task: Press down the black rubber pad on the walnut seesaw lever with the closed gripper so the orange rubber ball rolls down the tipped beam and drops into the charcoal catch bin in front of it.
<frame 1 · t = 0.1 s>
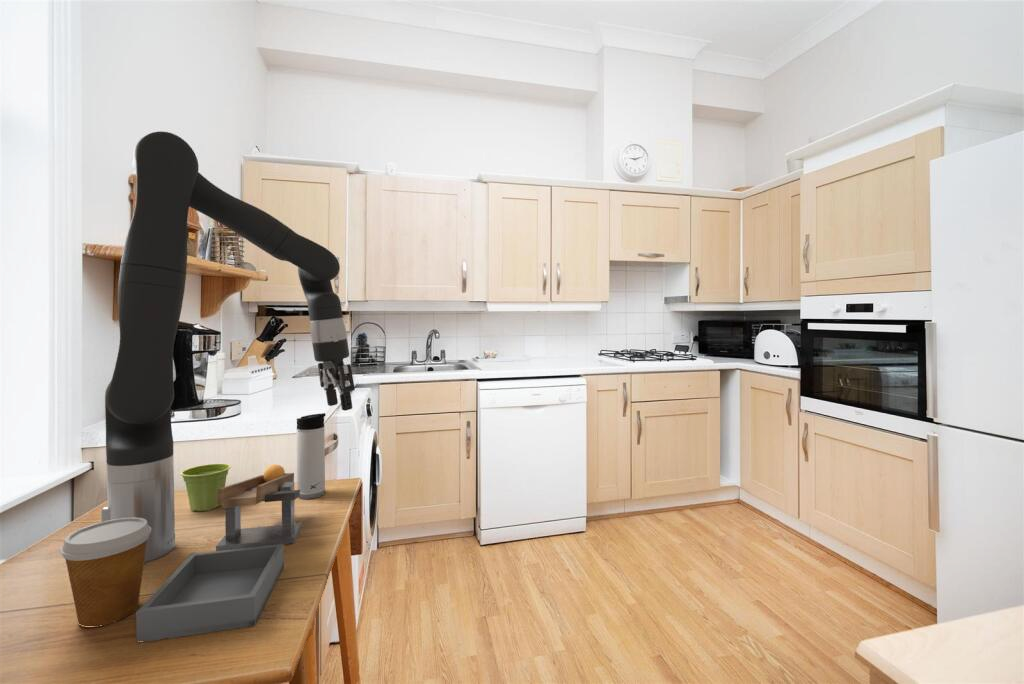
hand: (340, 407, 104), 22 cm above the table, tool pointing down, fingers open, 8 cm apart
bin: (220, 599, 66), on the table
disposable coffee cup: (109, 615, 63), on the table
ball: (274, 474, 95), point 10 cm above the table, tilted 22°, touching lever
lever: (274, 492, 86), point 9 cm above the table, hinge at -12.0°, touching ball
stand: (261, 539, 86), on the table
travel mug: (312, 495, 109), on the table
plant pot: (206, 507, 102), on the table
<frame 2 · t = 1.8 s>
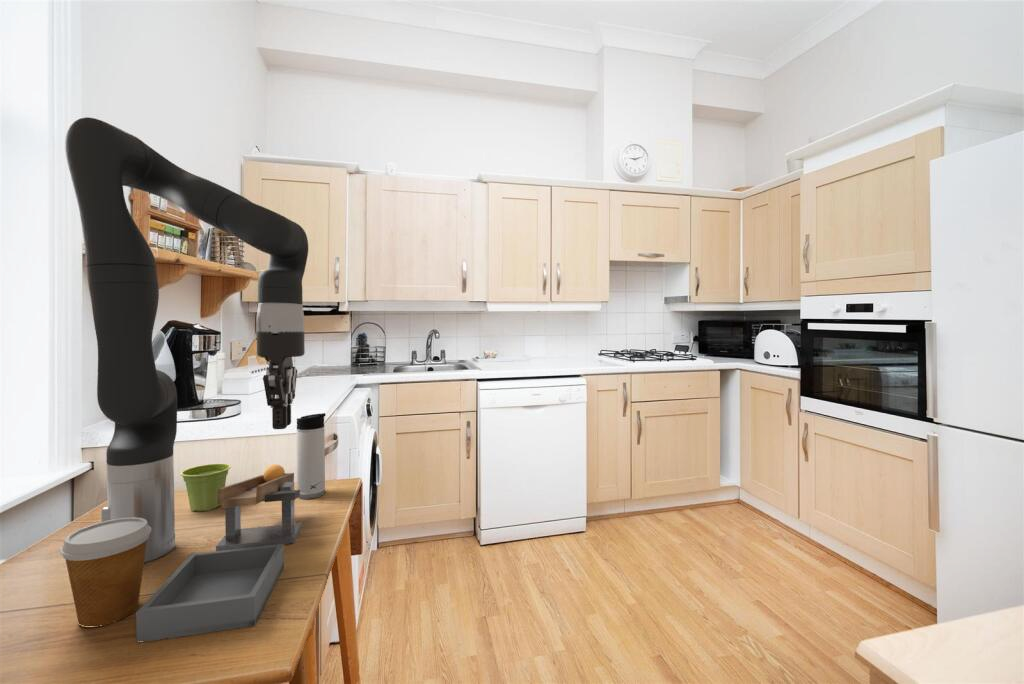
hand: (282, 426, 79), 23 cm above the table, tool pointing down, fingers closed
nothing on the table moved.
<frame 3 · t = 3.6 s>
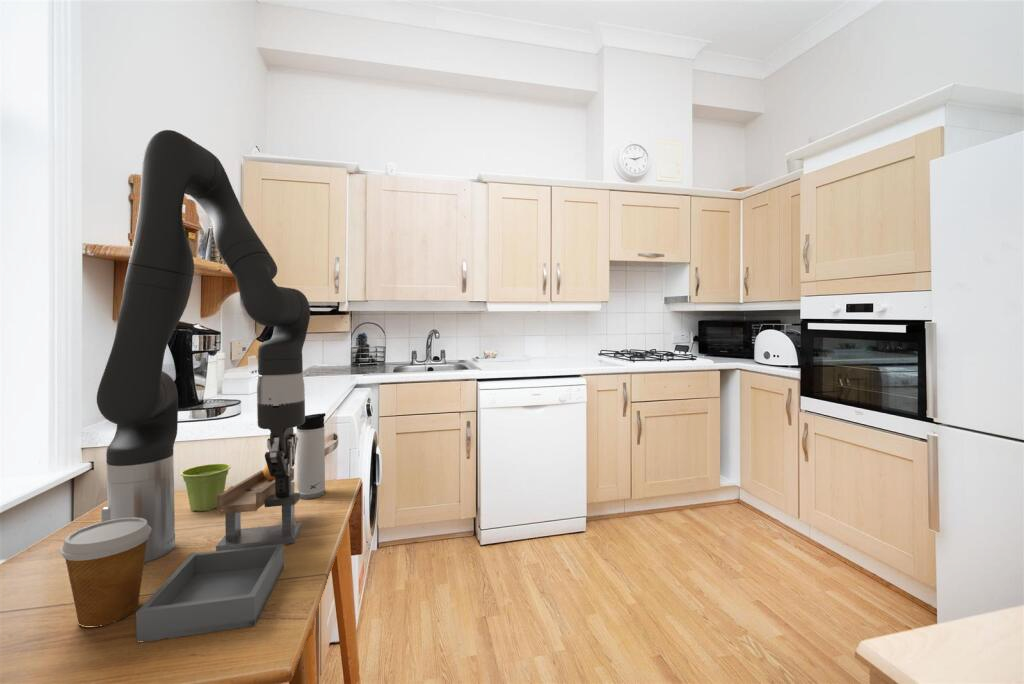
hand: (283, 495, 79), 11 cm above the table, tool pointing down, fingers closed
ball: (274, 470, 95), point 10 cm above the table, tilted 17°, touching lever
lever: (274, 492, 86), point 9 cm above the table, hinge at -7.1°, touching ball, gripper
everything else where it was.
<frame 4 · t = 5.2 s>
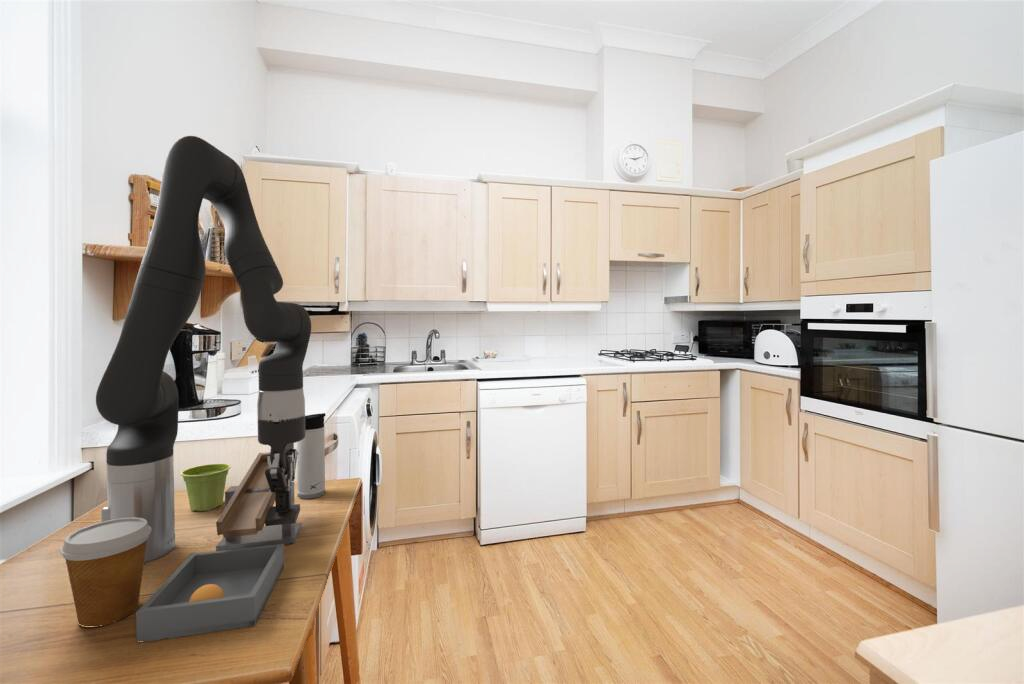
hand: (283, 510, 79), 8 cm above the table, tool pointing down, fingers closed
ball: (206, 600, 61), point 3 cm above the table, tilted 52°, touching bin
lever: (274, 492, 86), point 9 cm above the table, hinge at 12.8°, touching gripper
everything else where it was.
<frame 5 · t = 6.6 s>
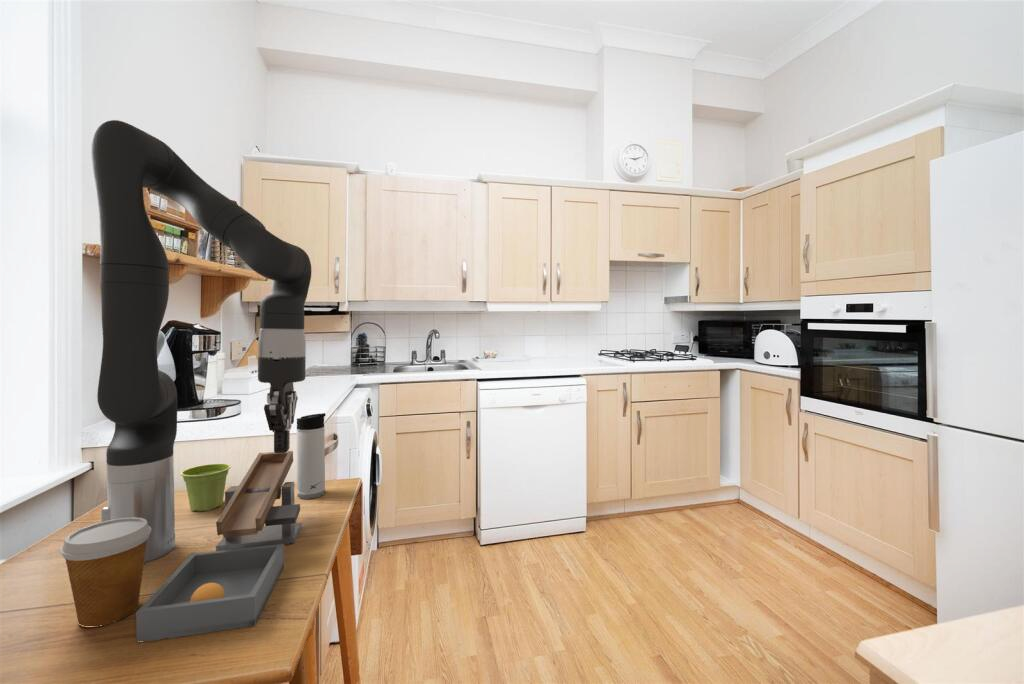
hand: (281, 451, 79), 19 cm above the table, tool pointing down, fingers closed
ball: (207, 599, 62), point 3 cm above the table, tilted 62°, touching bin
lever: (274, 492, 86), point 9 cm above the table, hinge at 12.8°
everything else where it was.
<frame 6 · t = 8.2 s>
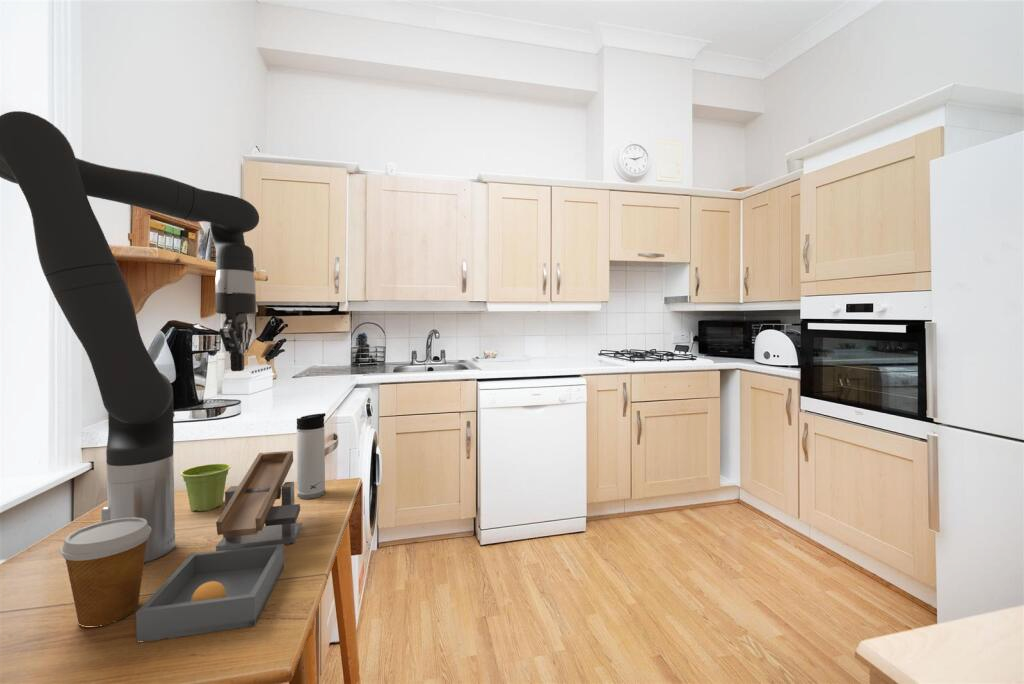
hand: (237, 370, 98), 31 cm above the table, tool pointing down, fingers closed
ball: (208, 597, 62), point 3 cm above the table, tilted 73°, touching bin
everything else where it was.
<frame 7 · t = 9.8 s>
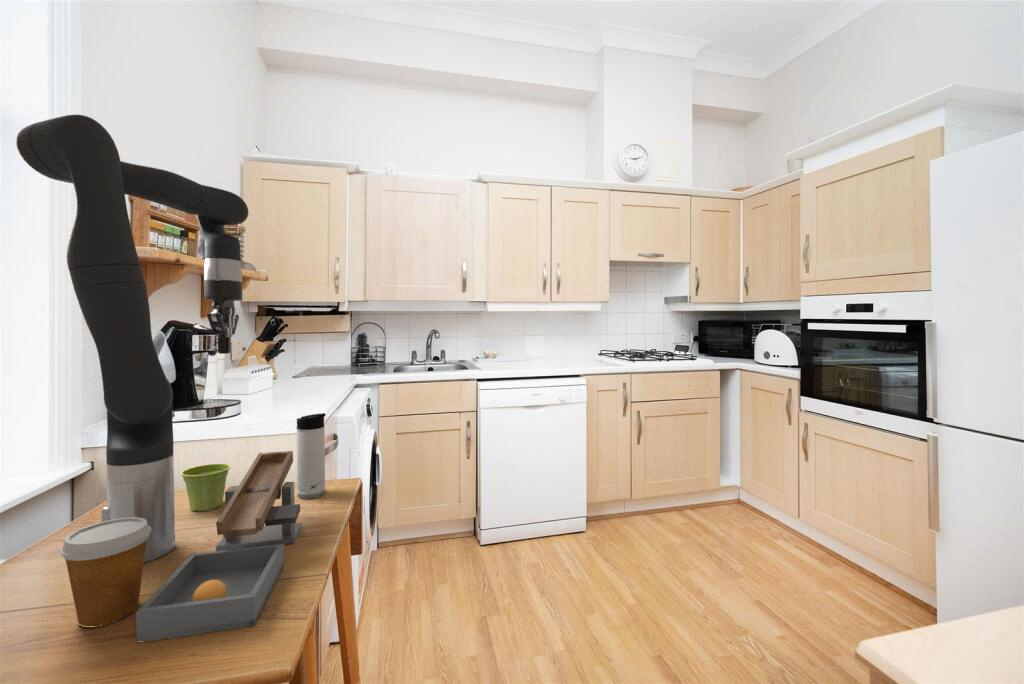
hand: (224, 353, 105), 35 cm above the table, tool pointing down, fingers closed
ball: (209, 595, 62), point 3 cm above the table, tilted 84°, touching bin
everything else where it was.
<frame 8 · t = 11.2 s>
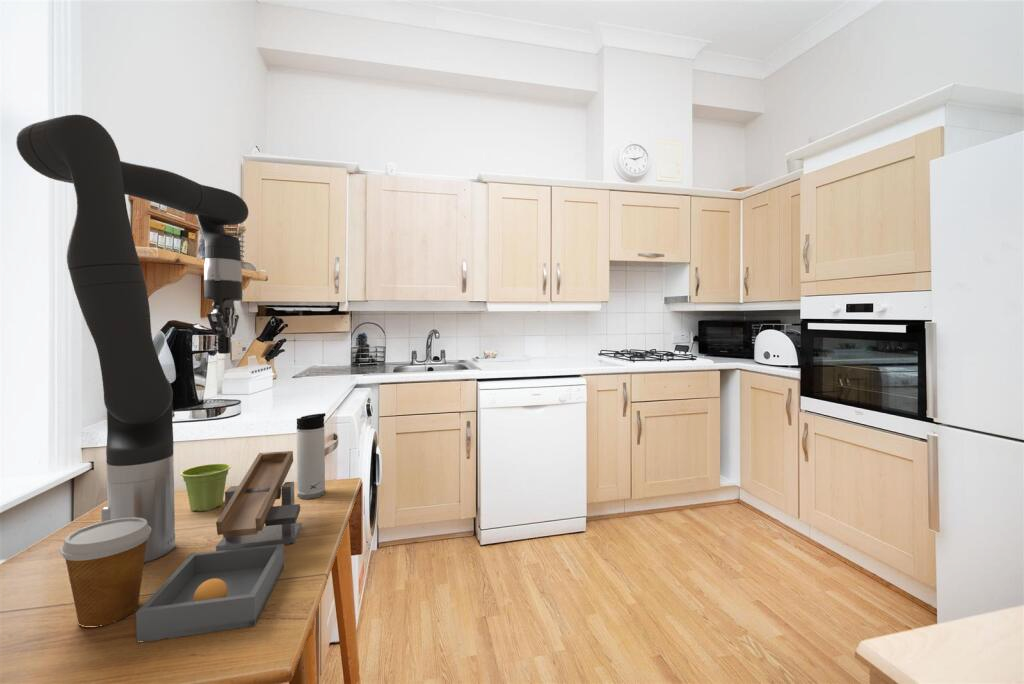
hand: (224, 353, 105), 35 cm above the table, tool pointing down, fingers closed
ball: (210, 594, 63), point 3 cm above the table, tilted 94°, touching bin
everything else where it was.
at the end: ball inside the target area on the bin (3.4 cm from its centre), point 2.8 cm above the bin's base; ball touching bin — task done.
